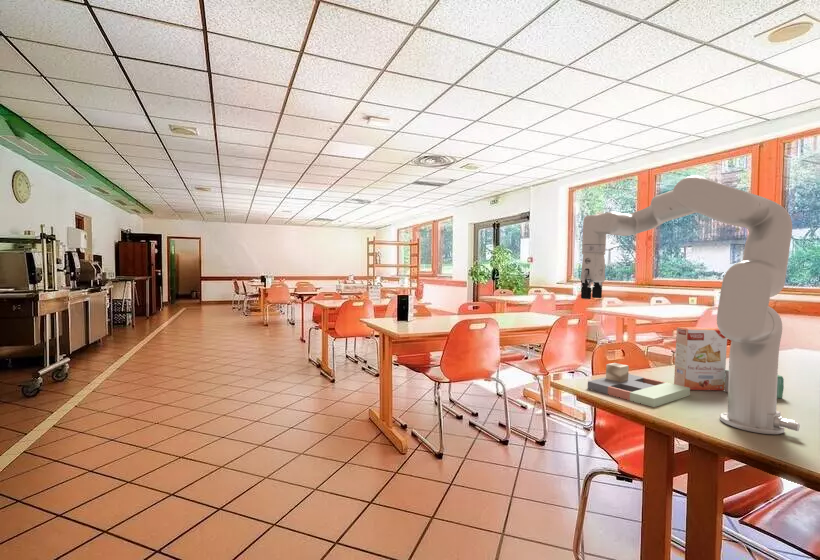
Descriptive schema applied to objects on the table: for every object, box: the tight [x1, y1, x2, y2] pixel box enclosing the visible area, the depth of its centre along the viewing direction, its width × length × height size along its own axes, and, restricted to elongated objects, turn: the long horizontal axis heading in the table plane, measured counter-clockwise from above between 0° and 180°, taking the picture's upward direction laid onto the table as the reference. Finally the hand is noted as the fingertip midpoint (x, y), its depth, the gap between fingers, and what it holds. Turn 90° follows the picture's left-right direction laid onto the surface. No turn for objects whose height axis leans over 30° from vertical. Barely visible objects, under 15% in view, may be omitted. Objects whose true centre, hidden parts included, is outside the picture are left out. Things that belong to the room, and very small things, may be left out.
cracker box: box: [673, 326, 728, 391], centre depth 135 cm, size 14×6×21 cm, turn 92°
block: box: [605, 362, 630, 382], centre depth 135 cm, size 5×5×5 cm
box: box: [723, 369, 785, 399], centre depth 129 cm, size 7×14×8 cm, turn 90°
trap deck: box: [587, 373, 691, 408], centre depth 130 cm, size 21×23×2 cm
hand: (591, 298), depth 140 cm, fingers open, 9 cm apart
